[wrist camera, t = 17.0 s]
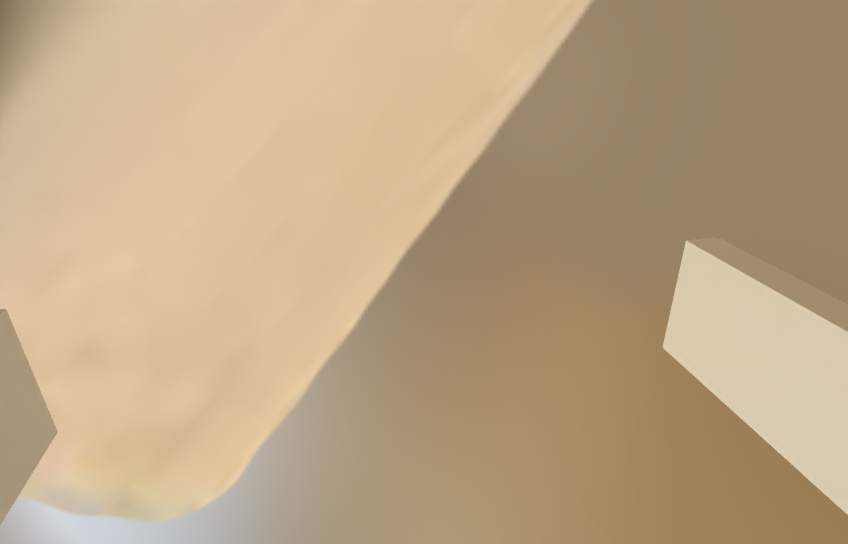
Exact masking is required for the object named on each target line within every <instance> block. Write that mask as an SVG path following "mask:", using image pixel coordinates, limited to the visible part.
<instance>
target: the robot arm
mask: <svg viewBox="0 0 848 544" xmlns="http://www.w3.org/2000/svg"><path fill="white" fill-rule="evenodd" d="M663 348H664V349H665V350H666V351H667V352H668V353H669V354H670V355H671V356H673V357H674V358H675V359H676V360H677V361H678V362H679V363H680V364H681V365H683V366H684V367H685V368H686V369H687V370H688V371H689V372H690V373H691V374H693V375H694V376H695V377H696V378H697V379H698V380H699V381H700V382H701V383H702V384H704V385H705V386H706V387H707V388H708V389H709V390H710V391H711V392H712V393H714V394H715V395H716V396H717V397H718V398H719V399H720V400H721V401H722V402H724V403H725V404H726V405H727V406H728V407H729V408H730V409H731V410H732V411H733V412H735V413H736V414H737V415H738V416H739V417H740V418H741V419H742V420H743V421H745V422H746V423H747V424H748V425H749V426H750V427H751V428H752V429H753V430H754V431H756V432H757V433H758V434H759V435H760V436H761V437H762V438H764V440H766V441H767V442H768V443H769V444H770V445H771V446H772V447H773V448H774V449H776V450H777V451H778V452H779V453H780V454H781V455H782V456H783V457H784V458H785V459H787V460H788V461H789V462H790V463H791V464H792V465H793V466H794V467H796V468H797V469H798V470H799V471H800V472H801V473H802V474H803V475H804V476H805V477H807V478H808V479H809V480H810V481H811V482H812V483H813V484H814V485H816V487H818V488H819V489H820V490H821V491H822V492H823V493H824V494H825V495H826V496H828V497H829V498H830V499H831V500H832V501H833V502H834V503H835V504H836V505H837V506H839V507H840V508H841V509H842V510H843V511H844V512H845V513H846V514H847V515H848V304H846V303H844V302H842V301H840V300H838V299H836V298H834V297H832V296H830V295H828V294H826V293H824V292H822V291H821V290H819V289H816V288H815V287H813V286H811V285H809V284H807V283H805V282H803V281H801V280H799V279H797V278H795V277H793V276H791V275H789V274H787V273H785V272H784V271H782V270H780V269H778V268H776V267H774V266H772V265H770V264H768V263H766V262H764V261H762V260H760V259H758V258H756V257H754V256H752V255H750V254H749V253H746V252H745V251H743V250H741V249H739V248H737V247H735V246H733V245H731V244H729V243H727V242H725V241H723V240H721V239H719V238H707V239H697V240H688V241H686V244H685V248H684V253H683V258H682V262H681V267H680V271H679V276H678V280H677V285H676V290H675V294H674V299H673V303H672V308H671V312H670V317H669V321H668V326H667V330H666V335H665V340H664V344H663ZM56 434H57V429H56V427H55V425H54V422H53V420H52V418H51V415H50V413H49V410H48V408H47V406H46V403H45V401H44V399H43V396H42V394H41V391H40V389H39V387H38V384H37V382H36V379H35V377H34V375H33V372H32V370H31V368H30V365H29V363H28V360H27V358H26V356H25V353H24V351H23V348H22V346H21V344H20V341H19V339H18V337H17V334H16V332H15V329H14V327H13V325H12V322H11V320H10V318H9V315H8V313H7V310H6V309H0V524H1V523H2V521H3V520H4V518H5V516H6V514H7V513H8V511H9V510H10V508H11V507H12V505H13V503H14V502H15V500H16V499H17V497H18V495H19V494H20V492H21V490H22V489H23V487H24V486H25V484H26V482H27V481H28V479H29V477H30V476H31V474H32V473H33V471H34V469H35V468H36V466H37V464H38V463H39V461H40V460H41V458H42V456H43V455H44V453H45V451H46V450H47V448H48V447H49V445H50V443H51V442H52V440H53V439H54V437H55V435H56Z"/></svg>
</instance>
